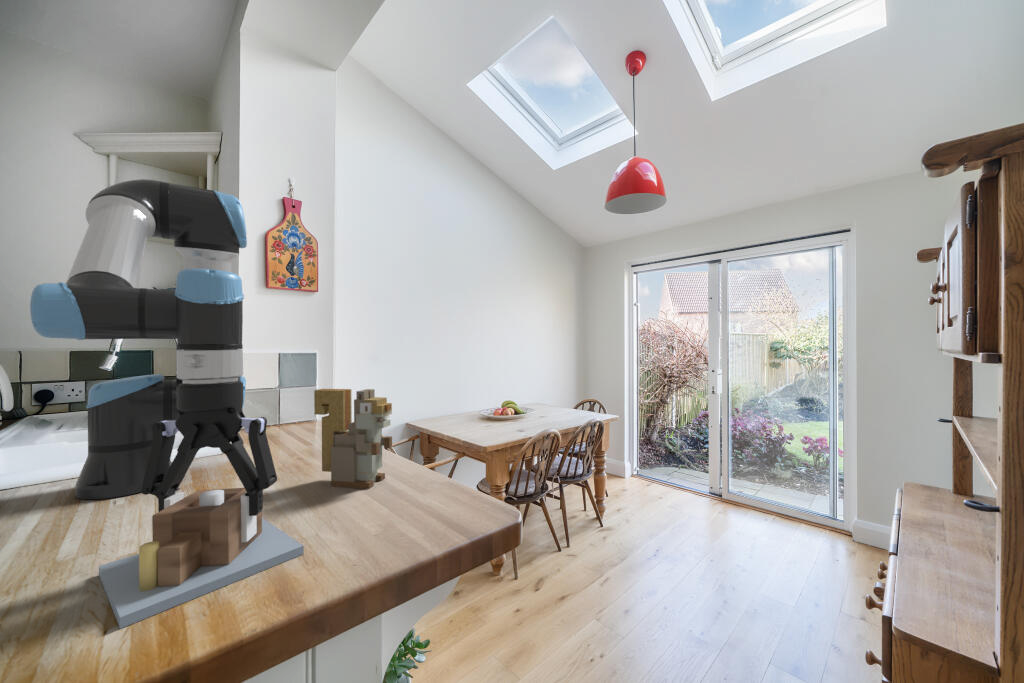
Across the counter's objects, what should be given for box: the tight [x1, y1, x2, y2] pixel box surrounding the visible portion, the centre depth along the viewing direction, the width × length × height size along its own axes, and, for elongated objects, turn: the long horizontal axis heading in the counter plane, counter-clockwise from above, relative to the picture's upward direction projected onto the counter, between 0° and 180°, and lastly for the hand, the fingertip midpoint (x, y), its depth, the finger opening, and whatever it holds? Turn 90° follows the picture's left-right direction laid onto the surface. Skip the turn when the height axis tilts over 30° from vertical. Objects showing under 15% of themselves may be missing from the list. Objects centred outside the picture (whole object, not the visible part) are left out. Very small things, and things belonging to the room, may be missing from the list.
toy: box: [313, 388, 393, 490], centre depth 87 cm, size 6×17×20 cm, turn 78°
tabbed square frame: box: [151, 487, 263, 587], centre depth 54 cm, size 13×9×7 cm
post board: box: [98, 489, 305, 630], centre depth 55 cm, size 16×19×9 cm
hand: (212, 539), depth 56 cm, fingers closed on tabbed square frame, 9 cm apart
